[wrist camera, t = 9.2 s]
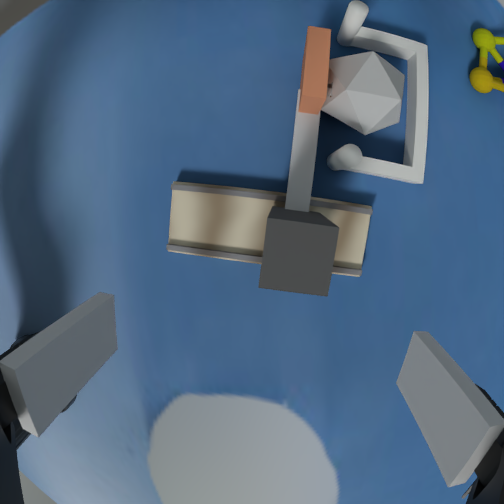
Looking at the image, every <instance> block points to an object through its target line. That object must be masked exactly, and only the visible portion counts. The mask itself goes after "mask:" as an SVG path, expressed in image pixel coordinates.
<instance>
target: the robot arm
mask: <svg viewBox="0 0 504 504" xmlns="http://www.w3.org/2000/svg"><path fill="white" fill-rule="evenodd" d="M117 349H118V348H117V336H116V322H115V305H114V295H112V294H107V293H102V292H99V293H97V294H96V295H94V296H93V297H91V298H90V299H88V300H87V301H85V302H84V303H82V304H81V305H79V306H78V307H76V308H75V309H73V310H72V311H70V312H69V313H67V314H66V315H64V316H63V317H61V318H60V319H58V320H57V321H55V322H54V323H53V324H51V325H50V326H48V327H47V328H45V329H44V330H42V331H41V332H38V333H35V334H32V335H26V336H23V337H21V338H19V339H18V340H16V341H15V342H14V343H13V344H12V345H11V347H10V349H9V350H7V351H6V352H4V353H3V354H2V355H0V504H24V500H23V494H22V489H21V483H20V476H19V469H18V460H17V451H16V450H17V449H18V448H19V447H20V446H21V445H22V443H23V442H24V441H25V440H26V439H27V438H28V437H29V436H30V434H33V435H35V436H37V437H40V436H41V434H42V433H43V432H44V431H45V430H46V429H47V428H48V426H49V425H50V424H51V423H52V422H53V421H54V419H55V418H56V417H57V416H58V415H59V414H60V413H61V412H64V411H66V410H67V409H68V408H69V407H70V406H71V405H72V404H73V402H74V401H75V399H76V394H77V393H78V392H79V391H80V390H81V389H82V388H83V387H84V386H85V384H86V383H87V382H88V381H89V380H90V379H91V378H92V377H93V376H94V374H95V373H96V372H97V371H98V370H99V369H100V368H101V367H102V366H103V365H104V363H105V362H106V361H107V360H108V359H109V358H110V357H111V356H112V355H113V354H114V353H115V351H116V350H117ZM396 384H397V386H398V387H399V389H400V391H401V393H402V395H403V397H404V399H405V401H406V402H407V404H408V406H409V408H410V410H411V412H412V414H413V416H414V418H415V420H416V422H417V424H418V426H419V428H420V430H421V432H422V434H423V436H424V438H425V440H426V442H427V444H428V446H429V448H430V450H431V452H432V454H433V456H434V458H435V460H436V462H437V464H438V467H439V469H440V471H441V473H442V475H443V477H444V480H445V482H446V484H447V486H448V487H451V486H455V485H459V484H462V483H465V482H466V481H467V480H468V478H469V477H470V476H471V475H472V473H473V472H474V471H475V473H476V475H477V479H476V480H475V481H474V482H473V484H472V485H471V486H470V487H469V488H468V490H467V491H466V492H465V493H464V494H463V496H462V498H463V499H464V498H465V497H466V496H467V494H469V493H470V494H469V496H468V499H467V502H466V504H504V413H503V411H502V410H501V409H500V408H499V407H498V406H496V405H497V404H496V403H495V402H494V401H493V400H491V397H490V396H489V395H488V393H487V392H486V391H485V390H484V389H482V388H481V387H479V386H478V385H476V384H474V383H473V381H472V380H471V379H470V378H469V377H468V376H467V375H466V373H465V372H464V371H463V370H462V369H461V368H460V367H459V365H458V364H457V363H456V362H455V361H454V360H453V359H452V358H451V356H450V355H449V354H448V353H447V352H446V351H445V350H444V349H443V348H442V346H441V345H440V344H439V343H438V342H437V341H436V340H435V339H434V338H433V337H432V336H431V335H430V333H429V332H423V331H414V332H413V335H412V338H411V342H410V345H409V348H408V351H407V354H406V357H405V360H404V363H403V365H402V368H401V371H400V374H399V377H398V379H397V382H396Z"/></svg>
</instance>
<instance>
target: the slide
mask: <svg viewBox="0 0 504 504" xmlns="http://www.w3.org/2000/svg"><path fill="white" fill-rule="evenodd" d="M171 190H173V191H172V203H171V215H170V229H169V244H167V250H168V251H170V252H177V253H184V254H192V255H199V256H206V257H213V258H220V259H228V260H235V261H242V262H250V263H257V264H262V256H263V248H264V240H265V232H266V224H267V217H268V215H269V213H270V211H271V208H272V206H276V207H284V208H285V203H286V195H287V193H281V192H273V191H265V190H257V189H248V188H239V187H230V186H220V185H210V184H199V183H188V182H173V184H171ZM371 207H372V206H367V205H361V204H355V203H349V202H343V201H337V200H330V199H324V198H317V197H311V199H310V206H309V211H313V212H319V213H321V214H322V215H323V216H325V217H326V218H327V219H329V220H330V221H331V222H333V223H334V224H335V225H337V226H338V227H339V234H338V240H337V247H336V252H335V258H334V264H333V270H332V273H333V274H341V275H349V276H357V277H359V276H361V274H362V270H361V266H362V261H363V256H364V250H365V245H366V239H367V233H368V227H369V221H370V215H372V211H373V210H372V209H371Z"/></svg>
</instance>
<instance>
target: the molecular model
mask: <svg viewBox="0 0 504 504" xmlns="http://www.w3.org/2000/svg"><path fill="white" fill-rule="evenodd" d="M472 37H473V42H474V44H475V45H476V46H477V47H478V48H479V49H480V59H479V67H476V68H474V69H473V70H472V71H471V73H470V82H471V85H472V86H473V88H474V89H475V90H477V91H478V92H481V93H488V92H490V91H491V90H492V89H493V88H494V89H497V90H499V91H502V92H504V78H498V77H493V76H492V74H491V73H490V72H489V71H488V70H487V58H488V52H490V53H491V55H492V56H493V57H494V59H495V60H496V61H497V63H498V64H499V65H500V67H501V68H502V70H503V71H504V60H503V58H502V57H501V56H500V54H499V53H498V52H497V50H496V49H495V45H496V44H500V45H504V37H494V36H493V34H492V33H491V32H490V31H488V30H487V29H484V28H479V29H476V30H475V31H474V32H473V36H472Z"/></svg>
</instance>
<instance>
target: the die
mask: <svg viewBox="0 0 504 504" xmlns="http://www.w3.org/2000/svg"><path fill="white" fill-rule="evenodd" d="M404 77H405V75H403V74H402V73H401V72H400V71H399V70H397V69H396V68H395V67H394V66H392V65H391V64H390V63H389V62H387V61H386V60H385V59H383V58H382V57H381V56H379V55H378V54H377V53H375V52H374V51H372V52H366V53H360V54H354V55H349V56H344V57H339V58H334V59H330V60H329V71H328V84H327V96H326V100H325V102H324V104H323V106H322V108H321V110H322V111H324V112H326V113H328V114H329V115H331V116H333V117H335V118H337V119H338V120H340V121H342V122H344V123H345V124H347V125H349V126H350V127H352V128H354V129H355V130H357V131H359V132H360V133H362V134H364V135H367V134H369V133H372V132H375V131H377V130H380V129H382V128H385V127H388V126H390V125H393V124H396V123H398V122H399V119H400V111H401V104H402V96H403V87H404Z"/></svg>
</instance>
